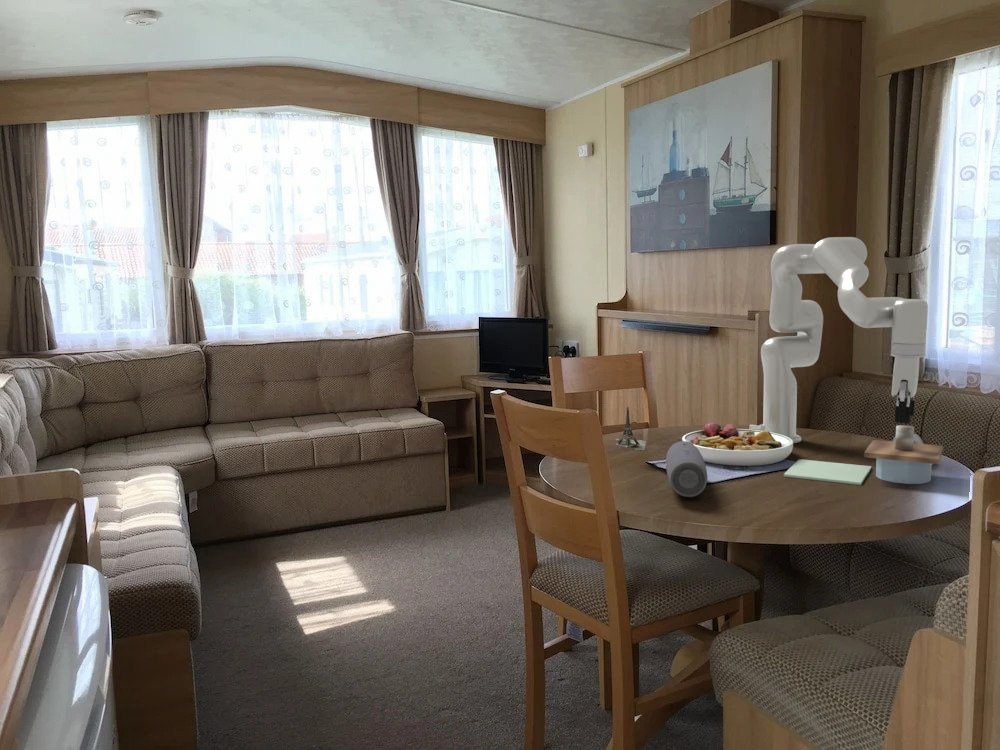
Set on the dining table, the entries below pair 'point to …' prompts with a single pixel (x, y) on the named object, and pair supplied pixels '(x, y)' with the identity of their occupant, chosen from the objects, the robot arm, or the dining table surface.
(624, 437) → the eiffel tower figurine
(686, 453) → the bluetooth speaker
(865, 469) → the green mat
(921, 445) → the walnut lid
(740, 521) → the dining table surface
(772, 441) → the bowl
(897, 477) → the slate bowl
